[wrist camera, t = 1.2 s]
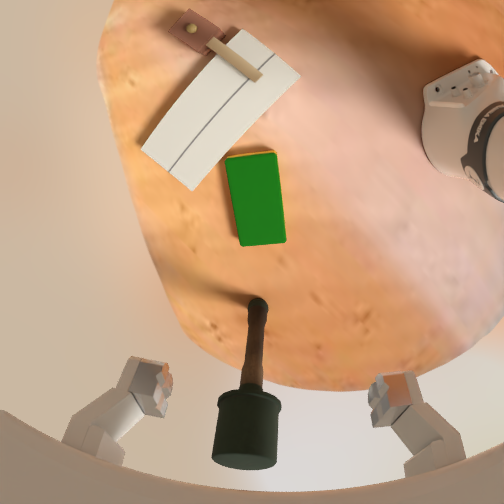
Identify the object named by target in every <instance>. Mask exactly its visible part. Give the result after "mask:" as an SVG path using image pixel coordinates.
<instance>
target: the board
mask: <svg viewBox="0 0 504 504" xmlns="http://www.w3.org/2000/svg"><path fill="white" fill-rule="evenodd" d="M226 46H227V47H229V48H230V49H232V50H233V51H234V52H235V53H237V54H238V55H239V56H241V57H242V58H243V59H245V60H246V61H247V62H248V63H250V64H251V65H252V66H253V67H255V68H256V69H257V70H258V71H260V72H261V73H262V74H263V76H262V77H261V78H260V79H259V80H258V81H257V82H256V83H254V82H253V81H252V80H251V79H249V78H248V77H247V76H246V75H244V74H243V73H242V72H241V71H239V70H238V69H237V68H236V67H234V66H233V65H232V64H230V63H229V62H228V61H227V60H225V59H224V58H223V57H221V56H220V55H219V54H217V55H216V56H215V57H214V58H213V59H212V60H211V61H210V62H209V63H208V64H207V65H206V67H205V68H204V69H203V70H202V71H201V72H200V73H199V74H198V76H197V77H196V78H195V79H194V80H193V81H192V82H191V84H190V85H189V86H188V87H187V88H186V90H185V91H184V92H183V93H182V94H181V96H180V97H179V98H178V99H177V101H176V102H175V103H174V104H173V106H172V107H171V108H170V110H169V111H168V112H167V113H166V115H165V116H164V117H163V119H162V120H161V121H160V123H159V124H158V125H157V127H156V128H155V130H154V131H153V132H152V134H151V135H150V137H149V138H148V139H147V141H146V142H145V144H144V145H143V147H142V148H141V150H142V151H143V152H145V153H146V154H147V155H148V156H150V157H151V158H152V159H153V160H154V161H156V162H157V163H158V164H159V165H161V166H162V167H163V168H164V169H166V170H167V171H168V172H169V173H170V174H172V175H173V176H174V177H175V178H177V179H178V180H179V181H180V182H181V183H183V184H184V185H185V186H186V187H188V188H189V189H190V190H191V191H193V190H194V189H195V188H196V186H197V185H198V184H199V183H200V182H201V181H202V179H203V178H204V177H205V176H206V175H207V174H208V173H209V171H210V170H211V169H212V168H213V167H214V166H215V165H216V163H217V162H218V161H219V160H220V159H221V158H222V157H223V156H224V154H225V153H226V152H227V151H228V150H229V149H230V148H231V147H232V146H233V145H234V143H235V142H236V141H237V140H238V139H239V138H240V137H241V136H242V135H243V134H244V133H245V132H246V131H247V130H248V129H249V128H250V126H251V125H252V124H253V123H254V122H255V121H256V120H257V119H258V118H259V117H260V116H261V115H262V114H263V113H264V112H265V111H266V110H267V109H268V108H269V107H270V106H271V105H272V104H273V103H274V102H275V101H276V100H277V99H278V98H279V97H280V96H281V95H282V94H283V93H284V92H285V91H286V90H287V89H288V88H289V87H291V86H292V85H293V84H294V83H295V82H296V81H297V80H298V79H299V78H300V77H301V76H300V75H299V74H298V73H297V72H296V71H295V70H294V69H292V68H291V67H290V66H289V65H288V64H287V63H286V62H284V61H283V60H282V59H281V58H280V57H278V56H277V55H276V54H275V53H274V52H272V51H271V50H270V49H269V48H267V47H266V46H265V45H264V44H262V43H261V42H260V41H258V40H257V39H256V38H255V37H253V36H252V35H251V34H249V33H248V32H246V31H245V30H244V29H241V30H240V31H239V32H238V33H237V34H236V35H235V36H234V37H233V38H232V39H231V40H230V41H229V42H228V43H227V44H226Z"/></svg>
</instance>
